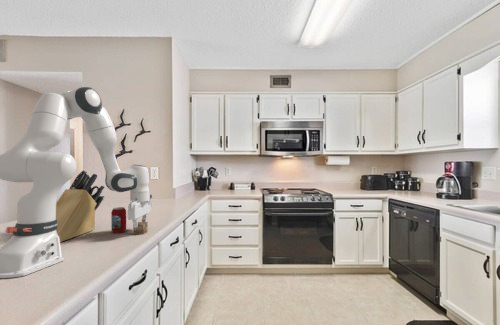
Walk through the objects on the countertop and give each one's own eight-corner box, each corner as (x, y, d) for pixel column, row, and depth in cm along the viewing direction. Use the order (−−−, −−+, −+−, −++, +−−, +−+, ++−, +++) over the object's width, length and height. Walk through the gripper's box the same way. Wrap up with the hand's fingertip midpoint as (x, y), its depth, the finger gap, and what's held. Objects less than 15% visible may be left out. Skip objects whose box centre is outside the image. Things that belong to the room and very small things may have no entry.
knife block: (106, 226, 155) (106, 169, 155) (56, 245, 120) (55, 172, 120) (87, 225, 157) (87, 169, 156) (32, 244, 122) (31, 172, 121)
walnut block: (143, 234, 138) (143, 224, 137) (133, 234, 138) (133, 224, 138) (147, 232, 143) (147, 222, 142) (137, 231, 143) (137, 222, 143)
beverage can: (108, 232, 141) (108, 208, 141) (120, 229, 147) (120, 206, 147) (117, 234, 138) (117, 209, 138) (129, 231, 144) (129, 207, 144)
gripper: (137, 200, 130) (137, 230, 130) (153, 194, 151) (153, 220, 151) (123, 200, 130) (124, 230, 131) (141, 194, 151) (142, 220, 151)
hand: (140, 225), depth 141 cm, fingers open, 8 cm apart
